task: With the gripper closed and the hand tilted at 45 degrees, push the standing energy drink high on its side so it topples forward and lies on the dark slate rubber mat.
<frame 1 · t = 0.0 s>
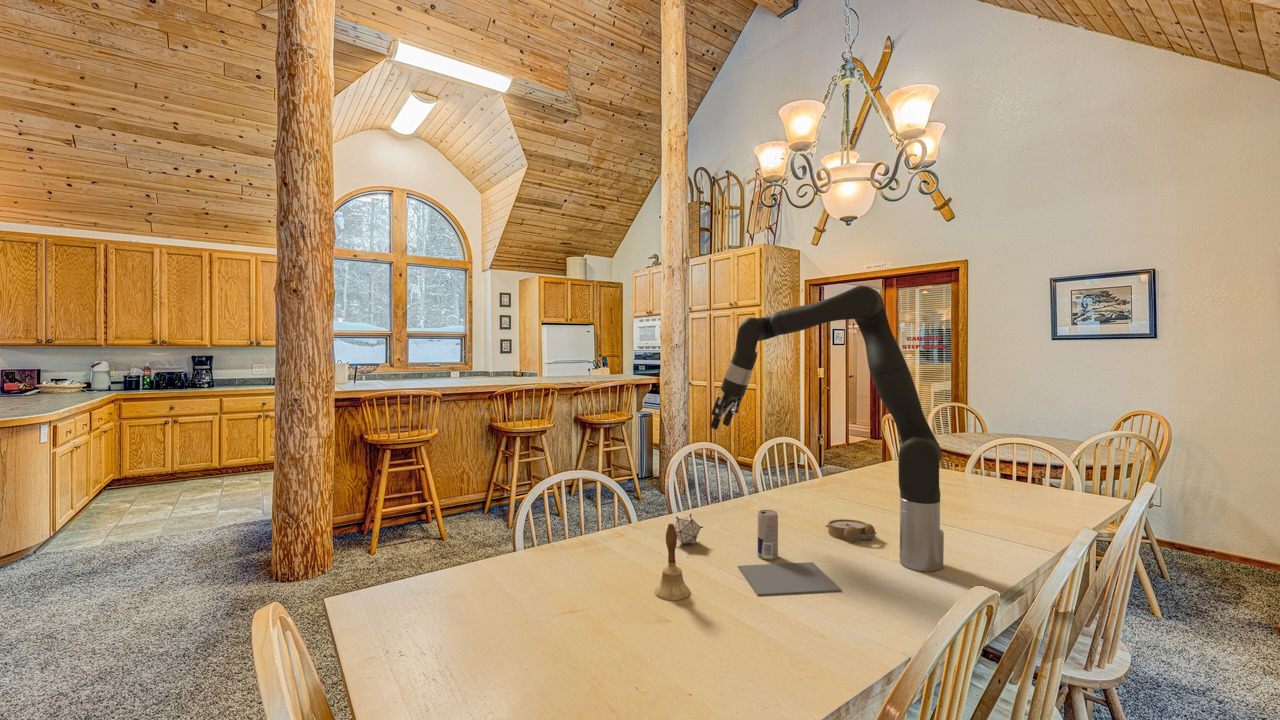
hand: (719, 426, 171), 31 cm above the table, tool tilted 20°, fingers open, 8 cm apart
slate mat: (786, 578, 133), on the table
alarm clock: (851, 538, 162), on the table
hand bell: (672, 593, 126), on the table
game die: (686, 544, 156), on the table
energy drink: (767, 557, 147), on the table
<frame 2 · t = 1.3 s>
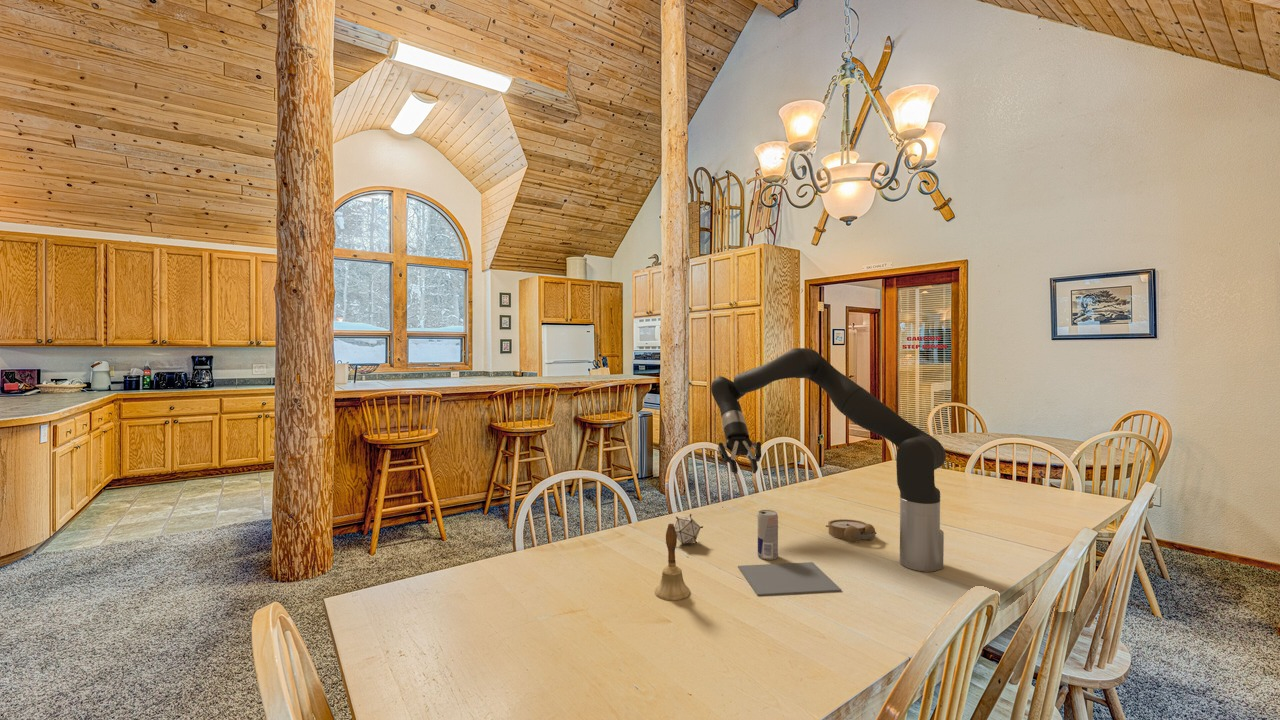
hand: (745, 472, 166), 18 cm above the table, tool tilted 45°, fingers open, 5 cm apart
nothing on the table moved.
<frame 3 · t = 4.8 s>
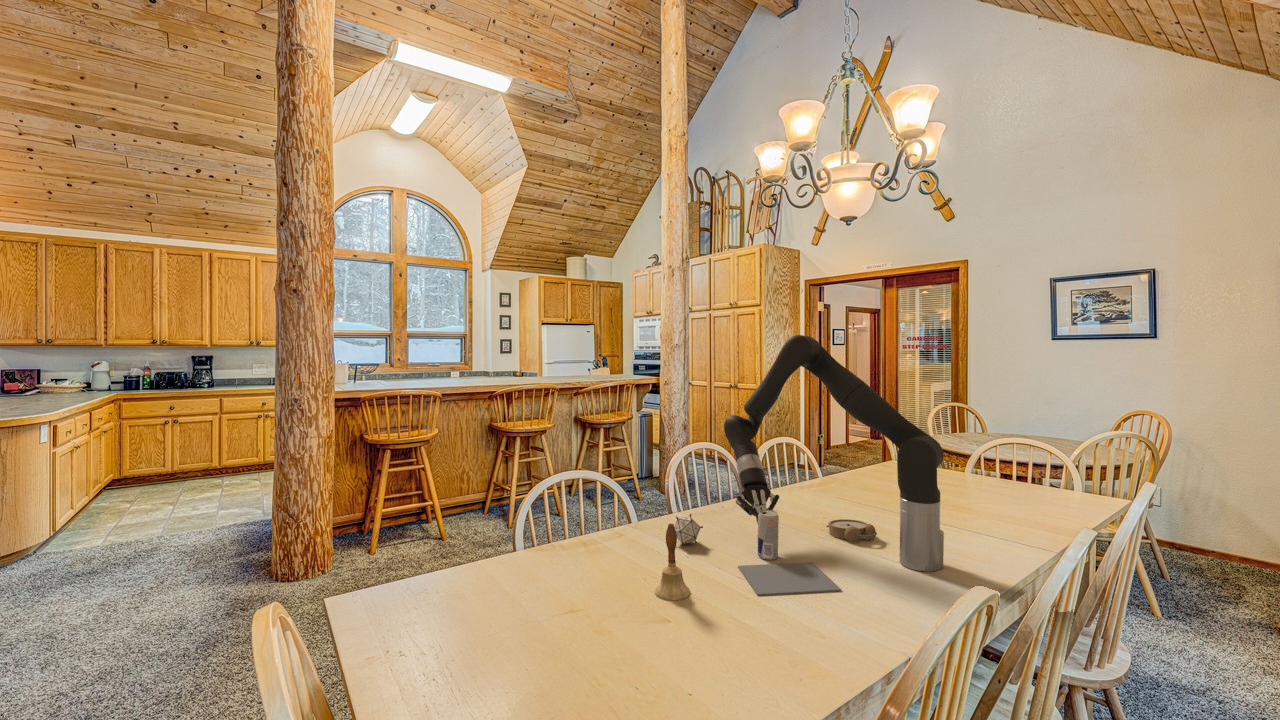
hand: (764, 527, 149), 7 cm above the table, tool tilted 45°, fingers closed
energy drink: (767, 556, 147), on the table, touching gripper
everything else where it was.
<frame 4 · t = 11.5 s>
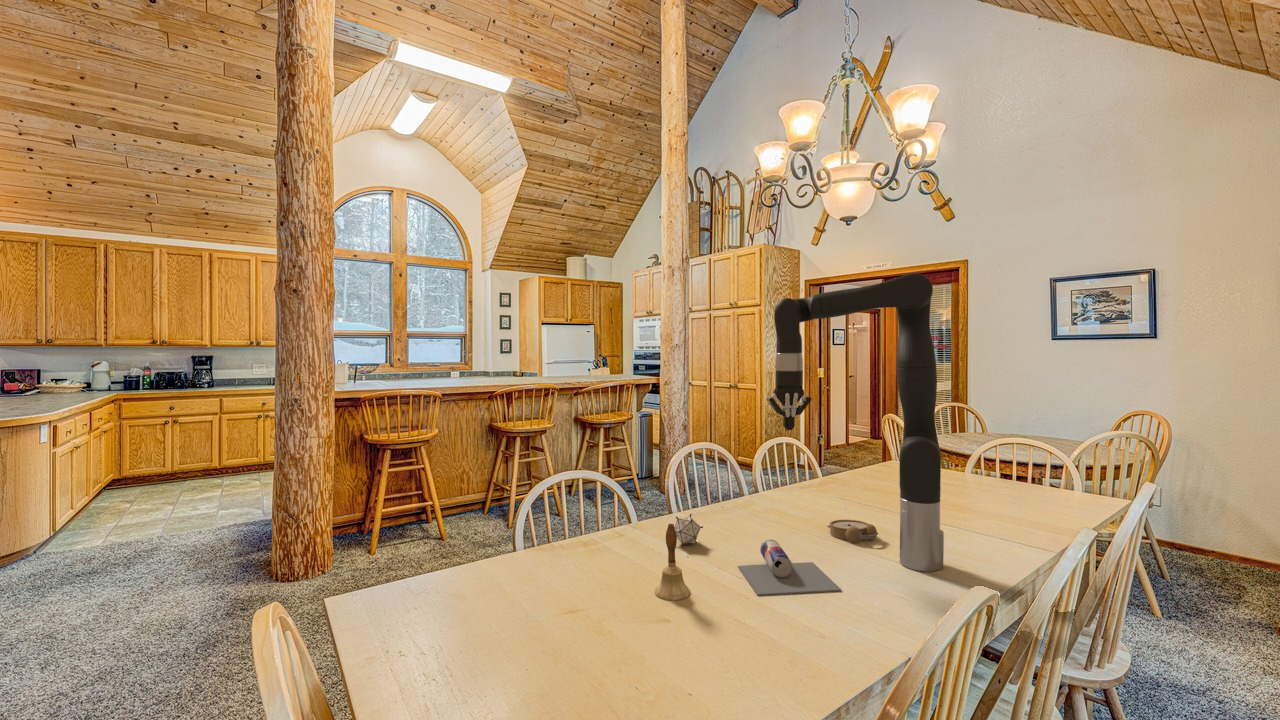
hand: (788, 429, 155), 33 cm above the table, tool pointing down, fingers closed
energy drink: (769, 548, 144), point 3 cm above the table, touching slate mat
everything else where it was.
at the end: energy drink tilted 90°; energy drink touching slate mat; the gripper is holding nothing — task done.
